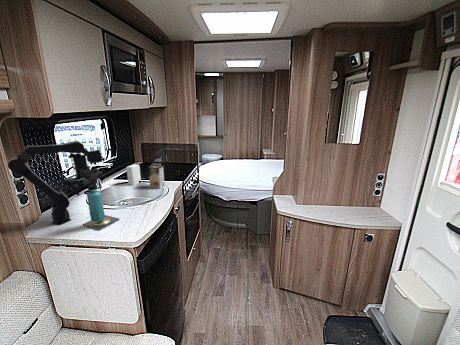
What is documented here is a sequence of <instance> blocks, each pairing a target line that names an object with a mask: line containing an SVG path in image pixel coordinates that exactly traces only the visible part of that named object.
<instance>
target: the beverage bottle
mask: <svg viewBox="0 0 460 345" xmlns="http://www.w3.org/2000/svg"><path fill="white" fill-rule="evenodd" d="M87 190H88V192H87V193H86V198H87V199H86V200H87V203H88V209H89V217H90V220H92V222H99V221H102V220H104V219H105V211H104V210H105V209H104V203H103V199H102V197H103V196H102V193H101V191H100V190H98V185H97V184H96V185H95V184H93V185H91V184H89V185H88V186H87Z"/></svg>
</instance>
